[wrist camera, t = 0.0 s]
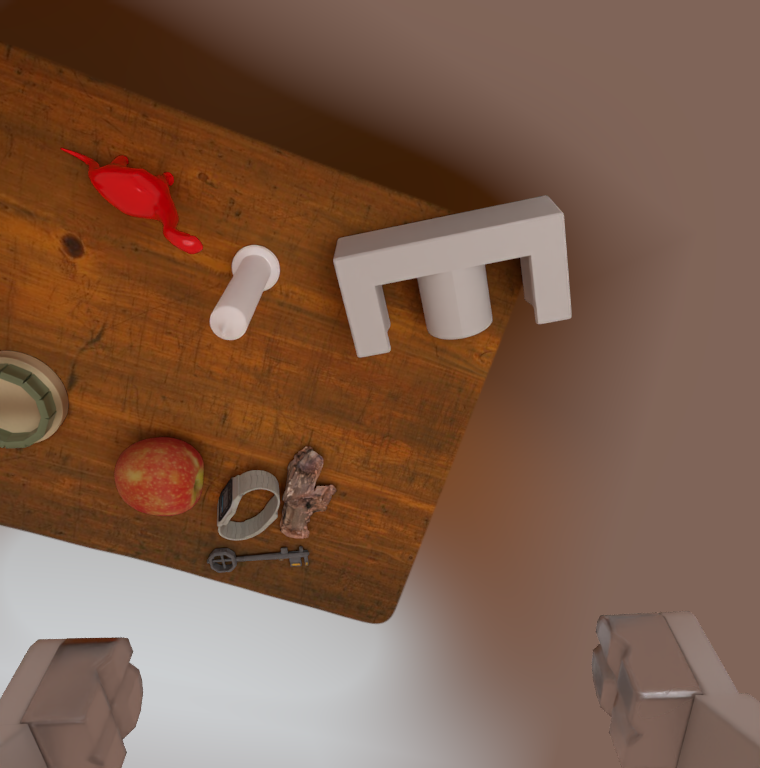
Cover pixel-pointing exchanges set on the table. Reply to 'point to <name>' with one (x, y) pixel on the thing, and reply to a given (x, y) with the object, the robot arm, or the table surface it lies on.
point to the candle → (244, 290)
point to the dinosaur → (140, 196)
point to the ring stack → (29, 400)
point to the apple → (160, 476)
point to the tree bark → (303, 493)
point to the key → (254, 558)
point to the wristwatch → (232, 497)
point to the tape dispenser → (454, 269)
